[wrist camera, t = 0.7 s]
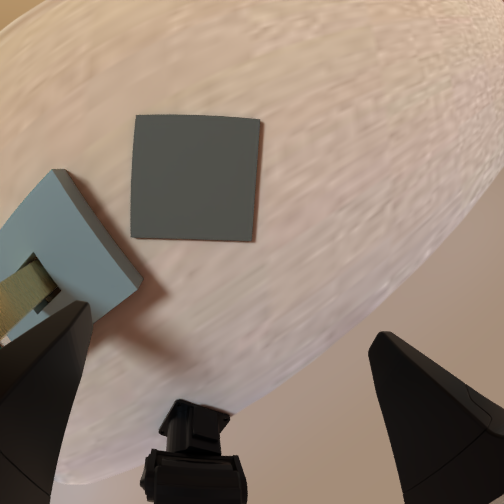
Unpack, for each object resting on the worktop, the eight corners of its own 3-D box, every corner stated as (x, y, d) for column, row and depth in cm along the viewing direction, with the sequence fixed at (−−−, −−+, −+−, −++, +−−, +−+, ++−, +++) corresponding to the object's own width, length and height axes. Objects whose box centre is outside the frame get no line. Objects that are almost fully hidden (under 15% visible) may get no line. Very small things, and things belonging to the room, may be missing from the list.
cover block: (143, 278, 24) (137, 289, 22) (45, 357, 25) (36, 370, 22) (65, 169, 21) (51, 169, 19) (-20, 271, 21) (-33, 278, 19)
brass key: (71, 287, 24) (-6, 370, 11) (54, 303, 24) (-20, 385, 11) (40, 245, 22) (-56, 301, 9) (24, 263, 22) (-65, 323, 9)
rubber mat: (250, 240, 25) (251, 241, 25) (131, 236, 23) (130, 237, 23) (259, 120, 23) (260, 119, 22) (137, 116, 21) (136, 115, 21)
